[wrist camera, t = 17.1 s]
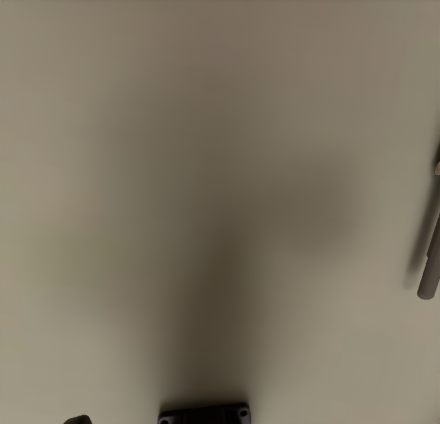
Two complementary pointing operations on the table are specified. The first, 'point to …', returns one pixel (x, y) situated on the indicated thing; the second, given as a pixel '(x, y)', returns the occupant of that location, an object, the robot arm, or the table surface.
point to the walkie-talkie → (431, 263)
